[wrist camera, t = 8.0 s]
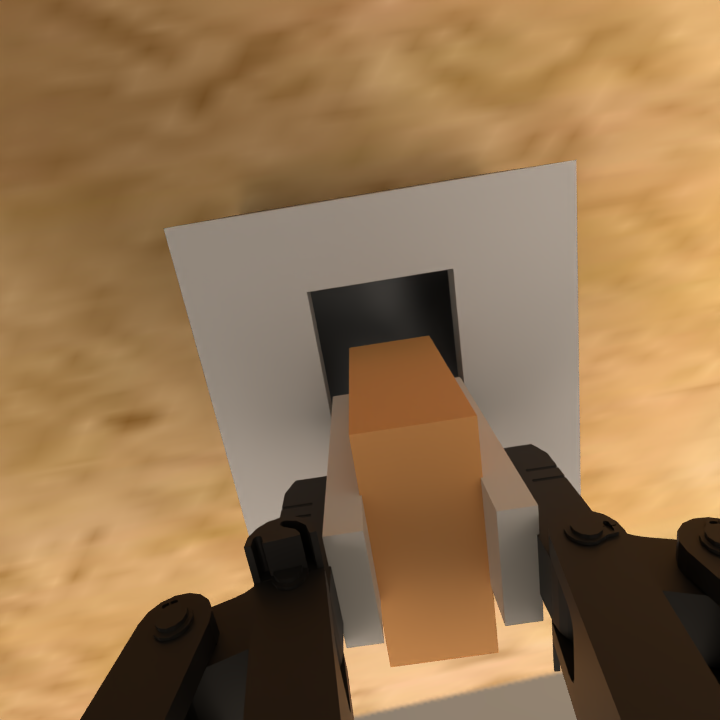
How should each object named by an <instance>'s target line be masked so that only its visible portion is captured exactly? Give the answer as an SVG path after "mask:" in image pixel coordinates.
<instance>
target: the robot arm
mask: <svg viewBox="0 0 720 720" xmlns="http://www.w3.org/2000/svg"><path fill="white" fill-rule="evenodd" d="M455 379H456V381H457V383H458V384H459V386H460V388H461V389H462V391H463V393H464V395H465V396H466V398H467V400H468V401H469V403H470V405H471V406H472V408H473V410H474V411H475V413H476V415H477V419H478V430H479V441H480V452H481V463H482V475H483V477H482V478H481V486H482V497H483V507H484V518H485V529H486V540H487V550H488V561H489V572H490V583H491V587H492V590H493V593H494V596H495V598H496V601H497V604H498V607H499V610H500V612H501V615H502V618H503V621H504V623H505V626H509V625H516V624H523V623H530V622H538V621H543V602H544V604H545V606H546V608H547V610H548V612H549V614H550V616H551V618H552V635H553V661H554V671H560V666H561V669H562V672H563V675H564V679H565V682H566V685H567V688H568V692H569V695H570V698H571V701H572V705H573V708H574V711H575V714H576V718H577V720H720V519H718V518H710V517H706V518H695V519H691V520H689V521H687V522H684V523H682V525H681V526H680V528H679V529H678V531H677V540H674V539H662V538H649V537H641V536H634V535H630V534H627V533H626V531H625V530H624V529H623V528H622V527H621V526H620V524H619V523H618V522H617V521H615V520H613V519H611V518H610V517H608V516H606V515H604V514H601V513H597V512H593V511H592V510H591V509H590V508H589V506H588V505H587V504H586V502H585V501H584V500H583V499H582V497H581V496H580V495H579V493H578V492H577V491H576V489H575V488H574V487H573V486H572V484H571V483H570V482H569V480H568V479H567V478H566V477H565V476H564V474H563V473H562V471H561V470H560V469H559V467H557V465H556V463H555V462H554V461H553V460H552V458H551V457H550V456H549V454H548V453H547V452H545V451H543V450H541V449H540V448H538V447H536V446H534V445H532V444H527V445H520V446H514V447H507V448H503V447H502V445H501V443H500V442H499V440H498V439H497V437H496V435H495V434H494V432H493V430H492V429H491V427H490V425H489V424H488V422H487V420H486V419H485V417H484V416H483V414H482V412H481V411H480V409H479V407H478V406H477V404H476V402H475V401H474V399H473V397H472V396H471V394H470V393H469V391H468V389H467V388H466V386H465V384H464V383H463V381H462V379H461V378H460V377H456V378H455ZM244 550H245V553H246V557H247V560H248V564H249V567H250V571H251V574H252V578H253V581H254V587H253V588H251V589H250V590H248V591H247V592H245V593H244V594H242V595H239V596H237V597H235V598H233V599H231V600H228V601H226V602H223V603H221V604H218V605H216V606H213V607H211V605H210V602H209V600H208V599H207V598H205V597H204V596H203V595H201V594H193V593H187V594H182V595H177V596H174V597H172V598H170V599H168V600H166V601H163V602H161V603H160V604H159V605H157V606H156V607H155V608H153V609H152V610H151V611H149V612H148V613H147V615H146V616H145V617H144V618H143V619H142V621H141V622H140V623H139V624H138V626H137V628H136V629H135V631H134V632H133V634H132V636H131V637H130V639H129V641H128V642H127V644H126V646H125V647H124V649H123V650H122V652H121V654H120V655H119V657H118V659H117V660H116V662H115V664H114V665H113V667H112V668H111V670H110V672H109V673H108V675H107V677H106V678H105V680H104V681H103V683H102V685H101V686H100V688H99V690H98V691H97V693H96V695H95V696H94V698H93V699H92V701H91V703H90V704H89V706H88V708H87V709H86V711H85V713H84V714H83V716H82V717H81V719H80V720H354V716H353V709H352V701H351V694H350V686H349V679H348V671H347V666H346V662H345V657H344V653H343V634H344V638H345V643H346V647H347V648H351V647H358V646H365V645H372V644H380V643H384V636H383V624H382V611H381V600H380V594H379V589H378V583H377V578H376V572H375V567H374V561H373V556H372V550H371V545H370V539H369V534H368V528H367V523H366V517H365V511H364V506H363V500H362V495H361V496H360V495H359V489H358V484H357V478H356V473H355V467H354V462H353V456H352V451H351V445H350V440H349V394H346V395H339V396H333V403H332V416H331V429H330V442H329V455H328V468H327V476H323V477H316V478H310V479H303V480H296V481H295V482H294V483H293V484H292V485H291V487H290V488H289V489H288V490H287V492H286V493H285V495H284V500H283V505H282V510H281V514H280V518H277V519H274V520H271V521H269V522H266V523H265V524H263V525H262V526H260V527H258V528H257V529H256V530H255V531H254V532H253V533H252V534H251V535H250V536H249V537H248V538H247V541H246V543H245V546H244Z"/></svg>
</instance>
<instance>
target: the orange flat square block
mask: <svg viewBox="0 0 720 720" xmlns="http://www.w3.org/2000/svg"><path fill="white" fill-rule="evenodd" d="M349 440H350V445H351V451H352V456H353V462H354V467H355V473H356V478H357V484H358V489H359V495H360V496H361V495H362V500H363V506H364V511H365V517H366V523H367V528H368V534H369V539H370V545H371V550H372V556H373V561H374V567H375V572H376V578H377V583H378V589H379V594H380V600H381V611H382V622H383V627H384V633H385V639H386V644H387V650H388V655H389V661H390V666H391V667H396V666H403V665H410V664H418V663H425V662H433V661H440V660H447V659H455V658H462V657H469V656H477V655H484V654H491V653H499V652H498V641H497V630H496V619H495V608H494V597H493V590H492V587H491V583H490V572H489V561H488V550H487V540H486V529H485V518H484V507H483V497H482V486H481V478H482V477H483V475H482V463H481V452H480V441H479V430H478V419H477V415H476V413H475V411H474V410H473V408H472V406H471V405H470V403H469V401H468V400H467V398H466V396H465V395H464V393H463V391H462V389H461V388H460V386H459V384H458V383H457V381H456V379H455V378H454V376H453V374H452V373H451V371H450V369H449V368H448V366H447V364H446V363H445V361H444V359H443V358H442V356H441V354H440V353H439V351H438V349H437V348H436V346H435V344H434V343H433V341H432V339H431V338H430V336H422V337H416V338H409V339H403V340H396V341H390V342H384V343H377V344H371V345H364V346H358V347H351V348H349Z"/></svg>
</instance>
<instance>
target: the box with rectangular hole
mask: <svg viewBox="0 0 720 720" xmlns="http://www.w3.org/2000/svg"><path fill="white" fill-rule="evenodd" d="M164 232H165V235H166V239H167V242H168V246H169V250H170V253H171V257H172V260H173V264H174V268H175V271H176V275H177V278H178V282H179V286H180V289H181V293H182V296H183V300H184V304H185V307H186V311H187V314H188V318H189V322H190V325H191V329H192V332H193V336H194V340H195V343H196V347H197V350H198V354H199V357H200V361H201V365H202V368H203V372H204V375H205V379H206V383H207V386H208V390H209V393H210V397H211V401H212V404H213V408H214V411H215V415H216V419H217V422H218V426H219V429H220V433H221V437H222V440H223V444H224V447H225V451H226V455H227V458H228V462H229V465H230V469H231V473H232V476H233V480H234V483H235V487H236V491H237V494H238V498H239V501H240V505H241V509H242V512H243V516H244V519H245V523H246V527H247V530H248V534H249V536H250V535H251V534H252V533H253V532H254V531H255V530H256V529H257V528H258V527H260V526H262V525H263V524H265V523H266V522H269V521H271V520H274V519H277V518H280V514H281V510H282V505H283V500H284V495H285V493H286V492H287V490H288V489H289V488H290V487H291V485H292V484H293V483H294V482H295V481H296V480H303V479H310V478H316V477H323V476H327V468H328V455H329V442H330V429H331V416H332V403H333V396H339V395H346V394H349V348H351V347H358V346H364V345H371V344H377V343H384V342H390V341H396V340H403V339H409V338H416V337H422V336H430V338H431V339H432V341H433V343H434V344H435V346H436V348H437V349H438V351H439V353H440V354H441V356H442V358H443V359H444V361H445V363H446V364H447V366H448V368H449V369H450V371H451V373H452V374H453V376H454V378H456V377H460V378H461V379H462V381H463V383H464V384H465V386H466V388H467V389H468V391H469V393H470V394H471V396H472V397H473V399H474V401H475V402H476V404H477V406H478V407H479V409H480V411H481V412H482V414H483V416H484V417H485V419H486V420H487V422H488V424H489V425H490V427H491V429H492V430H493V432H494V434H495V435H496V437H497V439H498V440H499V442H500V443H501V445H502V447H503V448H507V447H514V446H520V445H527V444H532V445H534V446H536V447H538V448H540V449H541V450H543V451H545V452H547V453H548V454H549V456H550V457H551V458H552V460H553V461H554V462H555V463H556V465H557V467H559V469H560V470H561V471H562V473H563V474H564V476H565V477H566V478H567V479H568V480H569V482H570V483H571V484H572V486H573V487H574V488H575V489H576V491H577V492H578V493H579V495H580V496H581V489H580V413H579V337H578V261H577V185H576V160H573V161H566V162H560V163H553V164H547V165H540V166H534V167H527V168H520V169H514V170H507V171H501V172H494V173H488V174H482V175H476V176H470V177H463V178H457V179H451V180H445V181H439V182H433V183H427V184H421V185H415V186H409V187H403V188H397V189H391V190H385V191H379V192H373V193H367V194H361V195H355V196H349V197H343V198H337V199H331V200H325V201H319V202H313V203H307V204H301V205H295V206H289V207H283V208H277V209H271V210H265V211H259V212H253V213H247V214H241V215H235V216H230V217H224V218H219V219H213V220H207V221H202V222H196V223H191V224H185V225H180V226H174V227H169V228H164Z"/></svg>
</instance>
